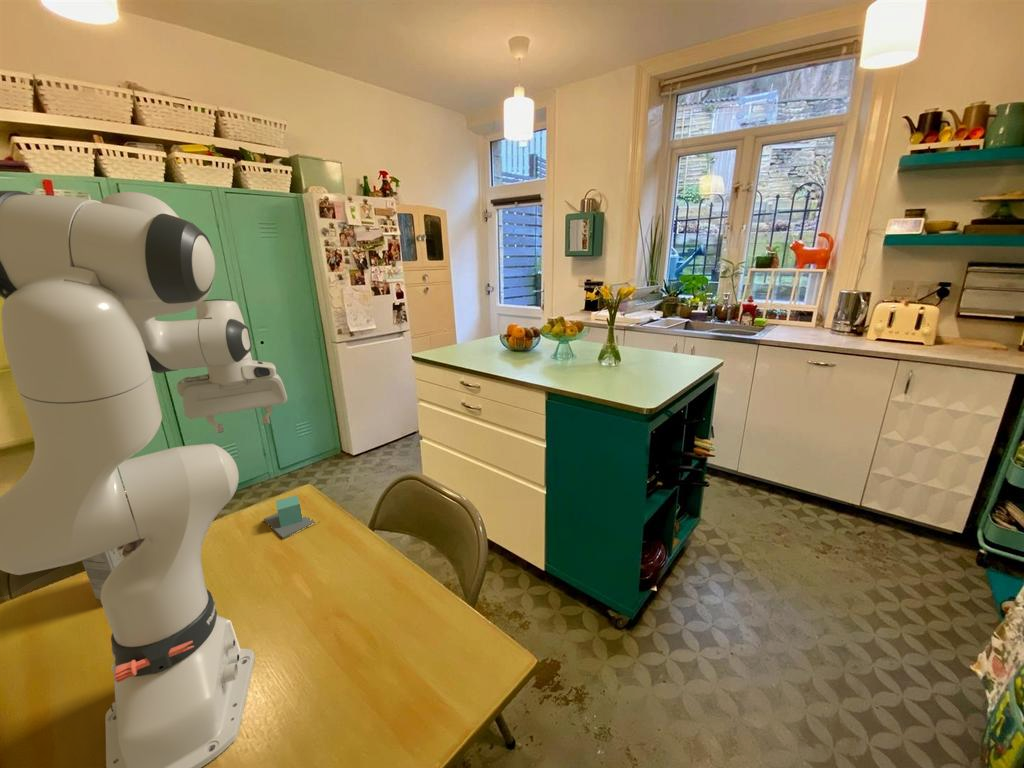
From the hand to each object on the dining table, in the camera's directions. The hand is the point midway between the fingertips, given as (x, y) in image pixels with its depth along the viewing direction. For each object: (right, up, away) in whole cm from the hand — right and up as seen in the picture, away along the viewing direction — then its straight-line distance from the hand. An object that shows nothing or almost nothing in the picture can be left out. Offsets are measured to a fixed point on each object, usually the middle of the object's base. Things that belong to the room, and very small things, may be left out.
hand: (243, 427), depth 100 cm
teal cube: (+6, -25, +9) cm, 27 cm away
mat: (+6, -25, +9) cm, 28 cm away
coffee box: (-17, -32, -11) cm, 38 cm away
